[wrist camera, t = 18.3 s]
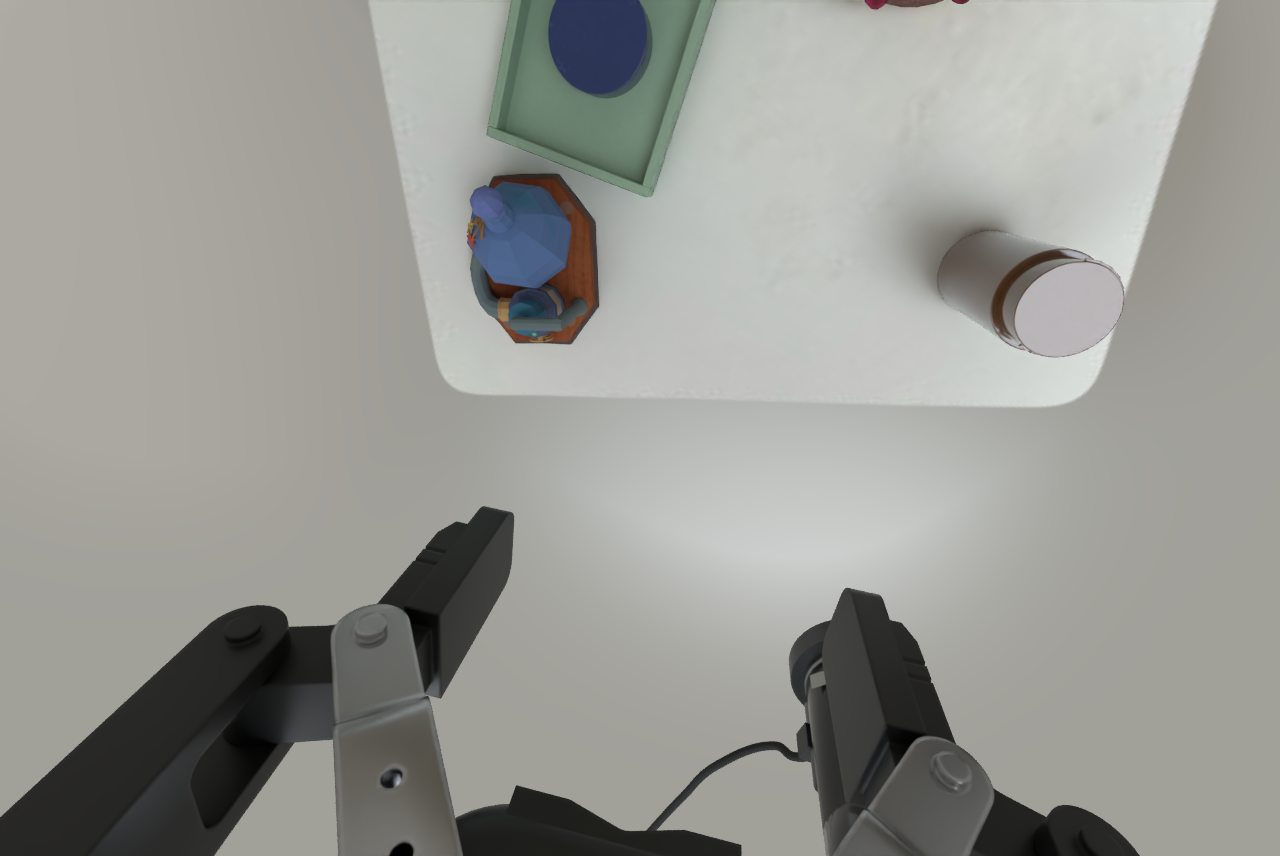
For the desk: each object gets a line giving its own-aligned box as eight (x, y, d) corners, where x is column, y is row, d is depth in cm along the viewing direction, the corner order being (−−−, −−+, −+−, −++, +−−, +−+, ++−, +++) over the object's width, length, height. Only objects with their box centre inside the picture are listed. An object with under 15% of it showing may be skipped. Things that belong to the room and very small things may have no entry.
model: (465, 176, 39) (390, 178, 31) (592, 171, 38) (550, 172, 29) (489, 342, 44) (430, 381, 36) (602, 344, 43) (569, 386, 34)
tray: (652, 196, 38) (647, 197, 36) (498, 136, 38) (485, 135, 36) (735, -61, 31) (735, -75, 30) (550, -132, 31) (539, -150, 30)
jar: (1001, 320, 37) (1093, 374, 28) (923, 302, 38) (987, 349, 28) (1041, 240, 35) (1156, 268, 25) (957, 222, 35) (1040, 243, 26)
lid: (574, -33, 33) (563, -46, 31) (666, 3, 33) (661, -8, 31) (549, 79, 35) (537, 74, 33) (634, 112, 35) (628, 109, 33)
